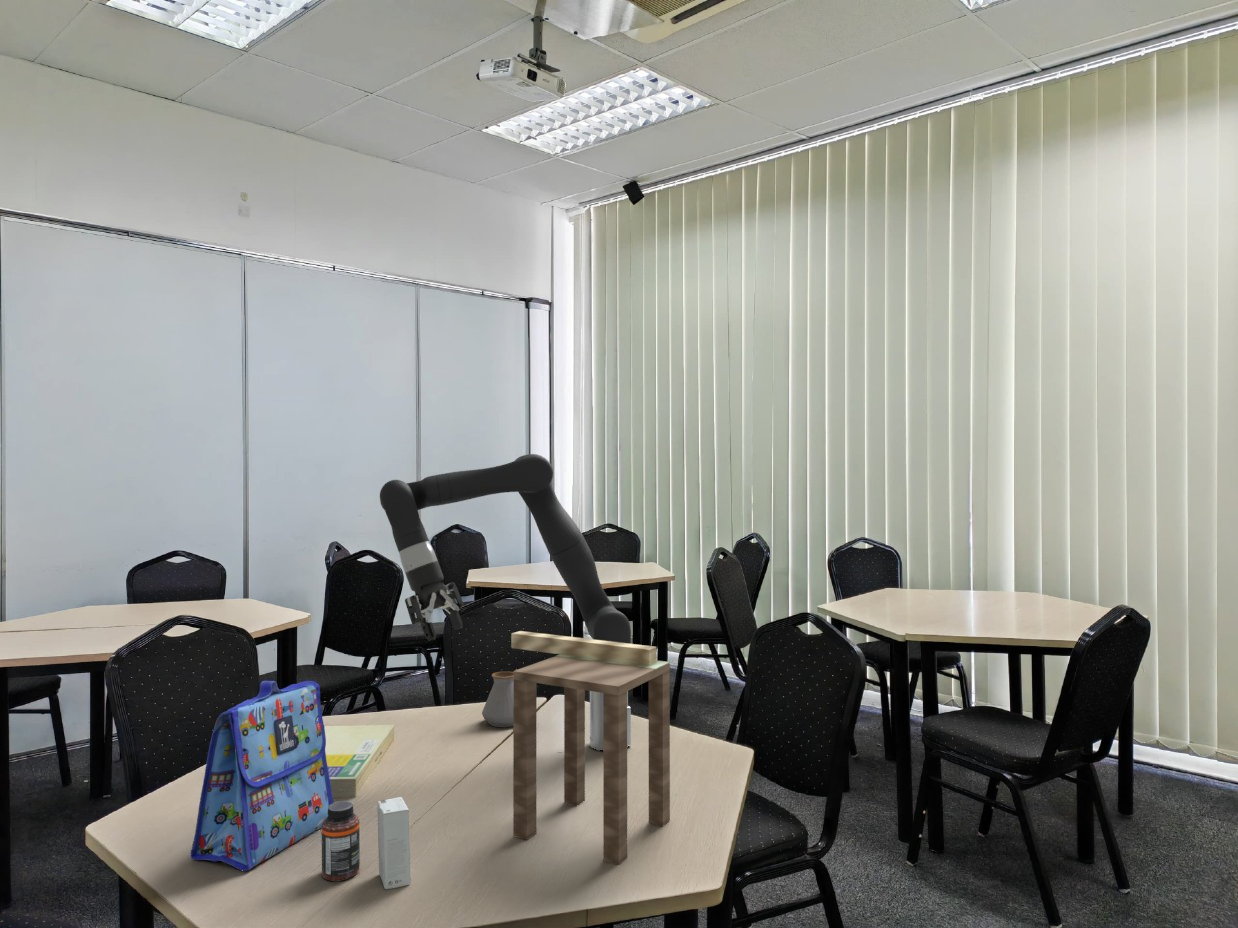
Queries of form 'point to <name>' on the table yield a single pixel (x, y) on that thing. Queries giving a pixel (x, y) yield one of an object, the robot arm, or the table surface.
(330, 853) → the supplement bottle
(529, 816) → the walnut stand
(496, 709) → the coffee pot
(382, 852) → the skincare box
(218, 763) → the lunch bag
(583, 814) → the table surface
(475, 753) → the table surface
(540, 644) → the maple rod
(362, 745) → the puzzle box
